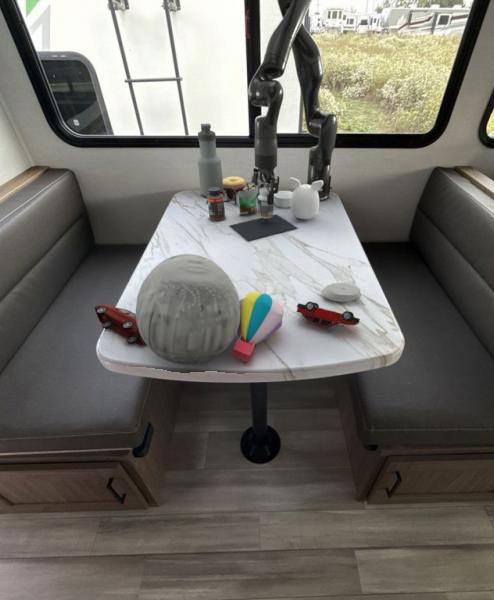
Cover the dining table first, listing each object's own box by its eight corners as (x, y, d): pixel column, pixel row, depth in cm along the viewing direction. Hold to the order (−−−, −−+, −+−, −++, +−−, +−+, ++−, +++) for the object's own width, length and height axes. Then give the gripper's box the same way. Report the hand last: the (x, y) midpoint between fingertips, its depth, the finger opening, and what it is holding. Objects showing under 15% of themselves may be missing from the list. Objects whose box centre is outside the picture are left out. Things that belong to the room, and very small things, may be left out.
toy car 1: (131, 330, 68) (150, 317, 72) (89, 307, 76) (109, 297, 79) (138, 350, 72) (156, 337, 75) (97, 326, 79) (116, 315, 82)
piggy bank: (318, 212, 134) (322, 173, 125) (320, 224, 125) (324, 183, 116) (287, 211, 135) (289, 172, 126) (287, 223, 125) (288, 182, 116)
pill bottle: (257, 213, 126) (257, 186, 120) (272, 212, 126) (273, 186, 120) (258, 219, 121) (258, 192, 115) (274, 219, 122) (274, 191, 116)
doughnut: (229, 174, 159) (230, 182, 162) (216, 181, 152) (217, 190, 154) (249, 177, 156) (249, 186, 158) (236, 184, 148) (237, 193, 150)
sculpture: (239, 384, 66) (220, 306, 91) (259, 295, 57) (232, 236, 82) (128, 386, 59) (141, 302, 84) (131, 285, 50) (144, 225, 75)
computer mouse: (360, 283, 88) (358, 292, 89) (322, 280, 89) (321, 290, 90) (362, 296, 83) (360, 306, 85) (322, 293, 84) (320, 303, 86)
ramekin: (287, 210, 135) (288, 199, 133) (269, 205, 139) (269, 195, 137) (298, 203, 141) (299, 193, 139) (281, 199, 145) (281, 189, 143)
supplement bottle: (227, 216, 130) (225, 187, 123) (221, 222, 125) (218, 192, 118) (214, 214, 131) (211, 185, 124) (206, 220, 127) (203, 190, 120)
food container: (254, 218, 128) (253, 192, 122) (239, 217, 129) (237, 191, 123) (261, 207, 138) (261, 182, 132) (247, 205, 139) (246, 181, 133)
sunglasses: (241, 204, 139) (239, 193, 136) (214, 213, 135) (211, 201, 132) (230, 196, 146) (228, 185, 143) (205, 205, 143) (202, 193, 140)
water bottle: (200, 190, 153) (192, 122, 136) (222, 189, 155) (216, 121, 138) (202, 198, 145) (193, 127, 128) (224, 197, 147) (219, 126, 130)
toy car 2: (361, 314, 78) (356, 335, 78) (303, 299, 82) (298, 319, 82) (360, 314, 72) (354, 336, 72) (297, 298, 76) (291, 319, 76)
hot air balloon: (240, 300, 80) (282, 318, 80) (213, 354, 72) (260, 374, 72) (247, 275, 71) (295, 295, 71) (217, 333, 63) (271, 357, 63)
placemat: (276, 215, 131) (276, 214, 131) (296, 228, 121) (296, 227, 121) (230, 226, 123) (230, 225, 122) (248, 241, 113) (248, 240, 113)
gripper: (287, 155, 107) (285, 206, 117) (264, 146, 117) (264, 194, 127) (267, 158, 104) (267, 210, 114) (245, 148, 114) (247, 197, 124)
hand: (265, 201), depth 120 cm, fingers closed on pill bottle, 5 cm apart
